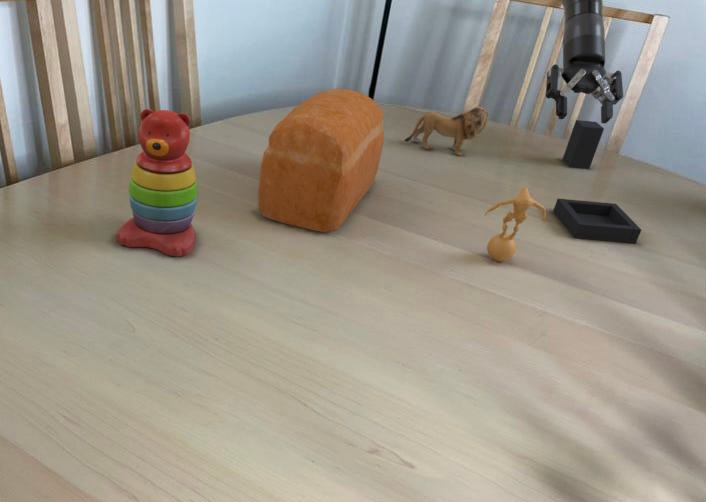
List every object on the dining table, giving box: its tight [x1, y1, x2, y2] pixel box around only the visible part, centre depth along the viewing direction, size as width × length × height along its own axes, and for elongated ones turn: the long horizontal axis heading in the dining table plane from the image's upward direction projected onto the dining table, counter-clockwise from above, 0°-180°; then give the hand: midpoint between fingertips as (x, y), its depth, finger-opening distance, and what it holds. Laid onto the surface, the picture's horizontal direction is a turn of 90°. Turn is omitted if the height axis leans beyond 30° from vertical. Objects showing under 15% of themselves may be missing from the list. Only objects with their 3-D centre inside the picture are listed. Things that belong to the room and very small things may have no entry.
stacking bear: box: [115, 108, 199, 257], centre depth 101 cm, size 11×10×18 cm
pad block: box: [561, 119, 605, 170], centre depth 144 cm, size 4×4×8 cm
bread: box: [257, 88, 385, 233], centre depth 118 cm, size 14×26×16 cm, turn 157°
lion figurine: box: [403, 106, 490, 156], centre depth 145 cm, size 15×5×9 cm, turn 79°
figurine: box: [484, 187, 547, 262], centre depth 105 cm, size 8×6×12 cm
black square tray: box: [552, 198, 642, 244], centre depth 121 cm, size 10×10×2 cm
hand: (584, 119), depth 145 cm, fingers open, 8 cm apart
